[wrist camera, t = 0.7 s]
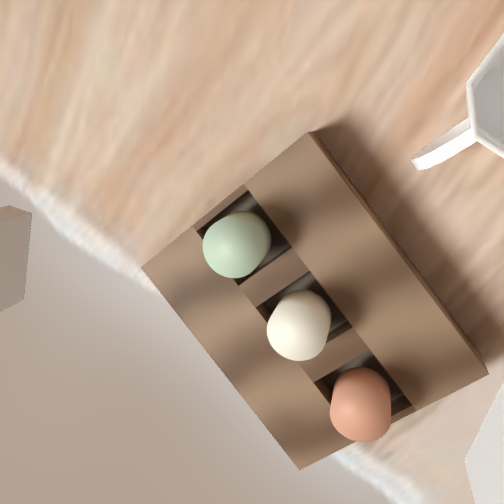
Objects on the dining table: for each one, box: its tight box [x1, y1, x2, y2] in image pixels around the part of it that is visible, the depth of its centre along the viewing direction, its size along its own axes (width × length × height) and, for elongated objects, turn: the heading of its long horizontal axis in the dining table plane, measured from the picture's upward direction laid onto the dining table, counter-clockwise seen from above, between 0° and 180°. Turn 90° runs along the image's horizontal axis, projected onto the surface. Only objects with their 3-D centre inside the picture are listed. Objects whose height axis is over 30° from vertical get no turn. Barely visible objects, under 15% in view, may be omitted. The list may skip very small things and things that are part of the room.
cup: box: [411, 33, 504, 170], centre depth 27 cm, size 7×10×8 cm
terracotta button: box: [330, 367, 391, 442], centre depth 34 cm, size 4×4×3 cm
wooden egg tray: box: [141, 131, 489, 470], centre depth 36 cm, size 20×16×3 cm
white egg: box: [267, 290, 332, 361], centre depth 33 cm, size 4×4×3 cm
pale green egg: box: [203, 211, 271, 278], centre depth 33 cm, size 4×4×3 cm
